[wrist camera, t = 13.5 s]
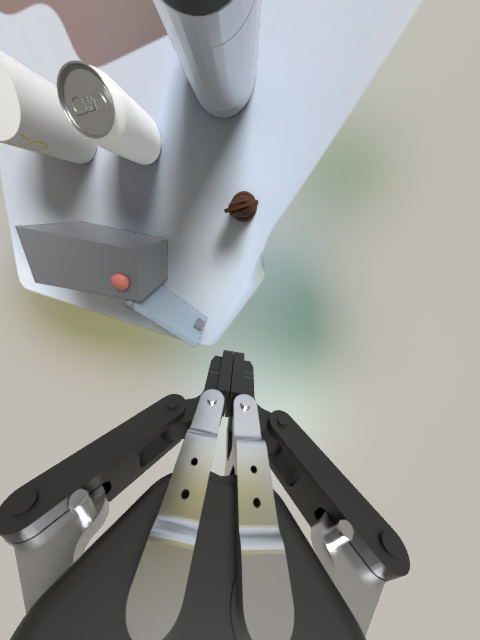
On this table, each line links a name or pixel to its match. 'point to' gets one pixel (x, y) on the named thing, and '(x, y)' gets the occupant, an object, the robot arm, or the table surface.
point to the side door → (171, 314)
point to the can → (106, 113)
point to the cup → (37, 116)
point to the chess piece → (243, 206)
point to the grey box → (95, 258)
